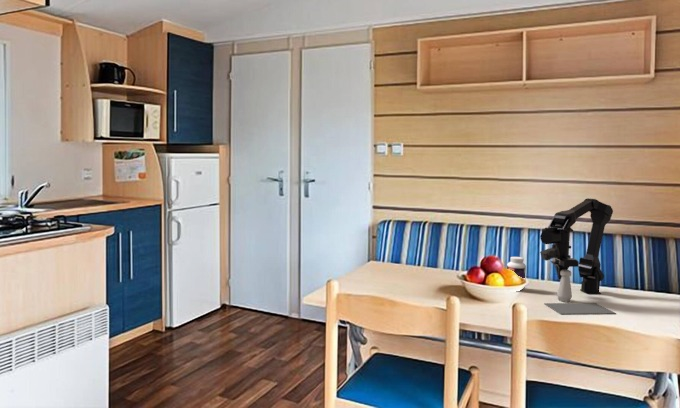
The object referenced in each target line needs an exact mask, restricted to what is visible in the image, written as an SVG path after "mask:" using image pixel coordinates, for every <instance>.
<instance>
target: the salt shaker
mask: <svg viewBox="0 0 680 408" xmlns="http://www.w3.org/2000/svg"><path fill="white" fill-rule="evenodd" d="M560 275H561V276H562V277H561V279H560V280H559V285H558V287H557V288H558V289H557V292H556V296H557V300H558V301H559V302H561V303H570V301H571V300H572V298H573V294H572V293H573V292H572V285H571V278H570V277H572V271H571V270H569V269H567V270H561V271H560Z"/></svg>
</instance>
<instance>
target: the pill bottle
mask: <svg viewBox="0 0 680 408" xmlns="http://www.w3.org/2000/svg"><path fill="white" fill-rule="evenodd" d="M507 269H510V270H512V271H514V272H515V273H516V274H517V275H518V276H520V277H522V278H525V279H526V273H527V271H526V270H527V265H526V264H525V263H524V257H521V256H510V260H509V261H508V263H507V264H506V270H507ZM525 288H526V286H525V287H524V288H523V290H522V291H524V290H525Z"/></svg>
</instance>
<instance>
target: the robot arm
mask: <svg viewBox="0 0 680 408" xmlns="http://www.w3.org/2000/svg"><path fill="white" fill-rule="evenodd" d="M586 213H590V215H589V217H590V220H591V222H592V223H591V224H592V225H591V228H590V229H591V230H590V234H589V238H588V244H587V248H586V253H585V254H584V256H583V257H580V258H579V261H578V259H575V258H573V257H572V258H571V254H570V249H572V245H570V242H571V241H570V238H571V233H573V232H574V230H573V228H572V226H573V225H575V224H576V221H577V220H578V219H579V218H580V217H582V216H584V215H586ZM613 214H614V209H613V208H612V206H611V205H610V204H606V203H604V202H601V201H599V200H598V199H596V198H585V199H584V200H583V201H581V202H579V203H578V204H576V205H575V206H573V207H571V208H569V209H567V210H561V211H558V212H555V214H554V216H553V217H552V219H551V221H550V223H549V224H548V226H547V227H545V228H544V230H543V231H541V234H540V235H539V236H540V237H539V239H540V241H541V243H542V244H544V245H551V244H552V245H551V247H550V248H547V249H543V250H541V251H540V252H539V253H540V257H541V259H542V260H544V261H550V263H551V264H552V265H554V267H555V270H556V275H557V279H558V280H561V277H562V276H561V275H560V271H561V270H569V268H570V267H571V268H572V267H573V268H574V267H575V268H578V274H579V278H582V281H581V288H580V292H583V293H585V294H588V295H592V294H594V295H601V294H602V292H601V291H600V285H601V284H600V282H602V281H604V278H605V274H604V273H603V271H602V269H601V262H600V259H599V255H600V252H601V251H600V250H601V245H602V241H603V236H604V231H605V227H606V225H607V224H608V223H609V221H611V219H612V215H613ZM569 254H570V255H569Z"/></svg>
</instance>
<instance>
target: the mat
mask: <svg viewBox="0 0 680 408" xmlns="http://www.w3.org/2000/svg"><path fill="white" fill-rule="evenodd" d="M543 305H545V306H546V307H548V308H549V309H552V311H555V312H556V313H557V314H559V315H562V316H563V315H616V314H617V312H615V311H613V310H611V309H609V308H608V307H605V306H603V305H602V304H599V303H597V302H556V303H555V302H550V303H549V302H547V303H546V302H544V303H543Z"/></svg>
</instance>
